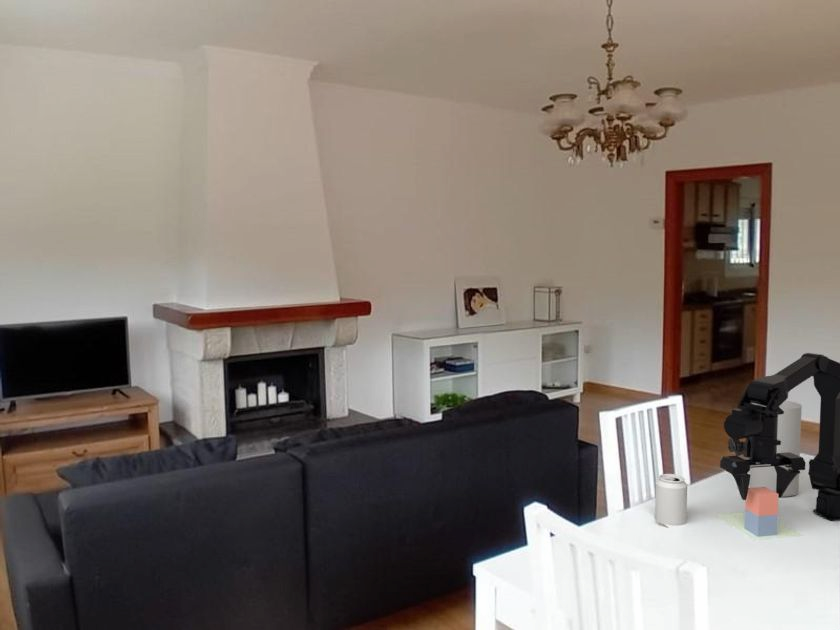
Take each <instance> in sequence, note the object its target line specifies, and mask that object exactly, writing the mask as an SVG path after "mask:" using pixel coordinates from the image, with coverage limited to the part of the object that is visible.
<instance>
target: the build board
mask: <svg viewBox="0 0 840 630" xmlns="http://www.w3.org/2000/svg"><path fill="white" fill-rule="evenodd" d="M714 516H715V517H716V518H718V519H719V520H721V521H723V522H725V523H726V524H728V525H729V526H731V527H733V528H734V529H735V530H737V531H739V532H740V533H742V534H744V535H745V536H747V538H749V539H752V540H753V541H761V540H772V539H784V538H785V539H786V538H795V537H804V536H805V535H804V534H802V533H800V532H798V531H796V529H795V530H794V529H793V528H791V527H789V526H787V525H786V524H784V523H782V522H781V521H779V520H777V535H773V536H762V537H757V536H756V535H754V534H752V533H751V532H749V531H748V530H746V529H744V527H745V511H744V512H742V511H741V512H731V513H718V514H714Z"/></svg>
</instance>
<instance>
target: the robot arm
mask: <svg viewBox="0 0 840 630" xmlns="http://www.w3.org/2000/svg"><path fill="white" fill-rule="evenodd" d="M811 377H813V387H814V388H815V389H816V391H817V394H818V395H819V396H820V405H819V406H820V407H819V408H820V409H819V412H820V413H819V433H818V435H819V436H818V453H816V455H815V456H814V457H813V458H811V459H809V461H808V472H807V474H808V476H809V480H810V485H811V489H813V490H817V496H816V498H815V501H816V502H815V509H812V513H815V514H816V515H818V516H820V517H822V518H824V519H826V520H828V521H840V362H838V361H836V360H833V359H831V358H830V357H828V356H825V355H824V354H821V353H819V354H818V353H813V352H805V353H802V355H801V356H800V358H798V359H797V360H795V361H794V362H792V363H790V364H789V365H787V366H786V367H784V368H783V369H780V371H779V370H778V372H776V373H774V374H771V375H768V376H760V377H758V378H755V379H752V380H751V381H750V382H749V383H748V385H747V387H746V389H745V391H744V392H743V394H742V397H741V398H740V400H739V402H738V403H737V408H733V409H731V410H732V411H731V414H729V415H728V416H727V417H726V418H725V420H724V422H723V428H724V431H725V433H726V435H727V436H728V437H729V439H728V441H727V448H728V451H729V453H734V454H735V455H725V456H722V457H721V458H720V460H719V462H720V463H719V464H720V465H719V468H721V469H723V470H725V471H726V472H727V473H729V474H730V475H732V477H733V479H734V481H735V484H736V485H737V489H738V492H739V496H740V498H741V500H743V501H745V500H746V498H747V494H748V488H750V486H749V482H750V476H751V475H749V471H750V468H754V467H770V466H774V468H775V470H776V473H777V479H776V493H778V494H779V495H778V499H780V498H783V497H782V495H783V493H784V492H785V490H786V489H787V487H788V486H789V484H790V483H791V481H792V480H793V479H794V478H795V476H796V475H797V474H799V475H800V474H801V471H805V470H806V460H805V459H804V457H803V456H801V455H800V456H798V455H795V454H793V453H790V452H786V453H777V445H781V441H780V440H778V439H777V430H778V415H781V414H784V411H783V410H782V409H781V408H779V406H780V405H781V404H782V403H783V402H784V401H785V400H788V398H789V393H790V391H791V390H793V389H794V388H796V387H798V386H799V385H801V384H802V383H804V382H805V381H806V380H809V379H811ZM752 403H754V404H752ZM755 404H759V405H755ZM760 405H763V406H760ZM765 406H766V407H765ZM742 439H745V441H740V440H742ZM740 456H742V457H740ZM743 457H745V458H748V459H744V458H743Z"/></svg>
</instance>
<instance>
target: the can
mask: <svg viewBox="0 0 840 630" xmlns="http://www.w3.org/2000/svg"><path fill="white" fill-rule="evenodd" d="M685 480H686V479H685V477H684V476H682V475H680V474H674V473H664V474H663V473H662V474H660V475H658V477H657V480H655V490H654V491H655V500H654V520H655V522H657V523H658V525H659V526H662V527H664V528H667V529H669V526H674V527H677V526H678V527H679V526H683V525H685V524H687V514H688V512H687V509H688V484H687V482H686V481H685Z"/></svg>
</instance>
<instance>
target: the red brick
mask: <svg viewBox="0 0 840 630" xmlns="http://www.w3.org/2000/svg"><path fill="white" fill-rule="evenodd" d="M778 495H779V494H778V493H776V492H774V491H772V490H770V489H768V488H766V487H755V488H750V487H749V488H748V494H747V498H746V500H744V501H745V502H744V503H745V504H744V505H745V506H744V510H745V509H747V510H749V511H751V512H752V513H754V514H756V515H758V516H765V515H778V516H779V513H778V512H779V497H778Z"/></svg>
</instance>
